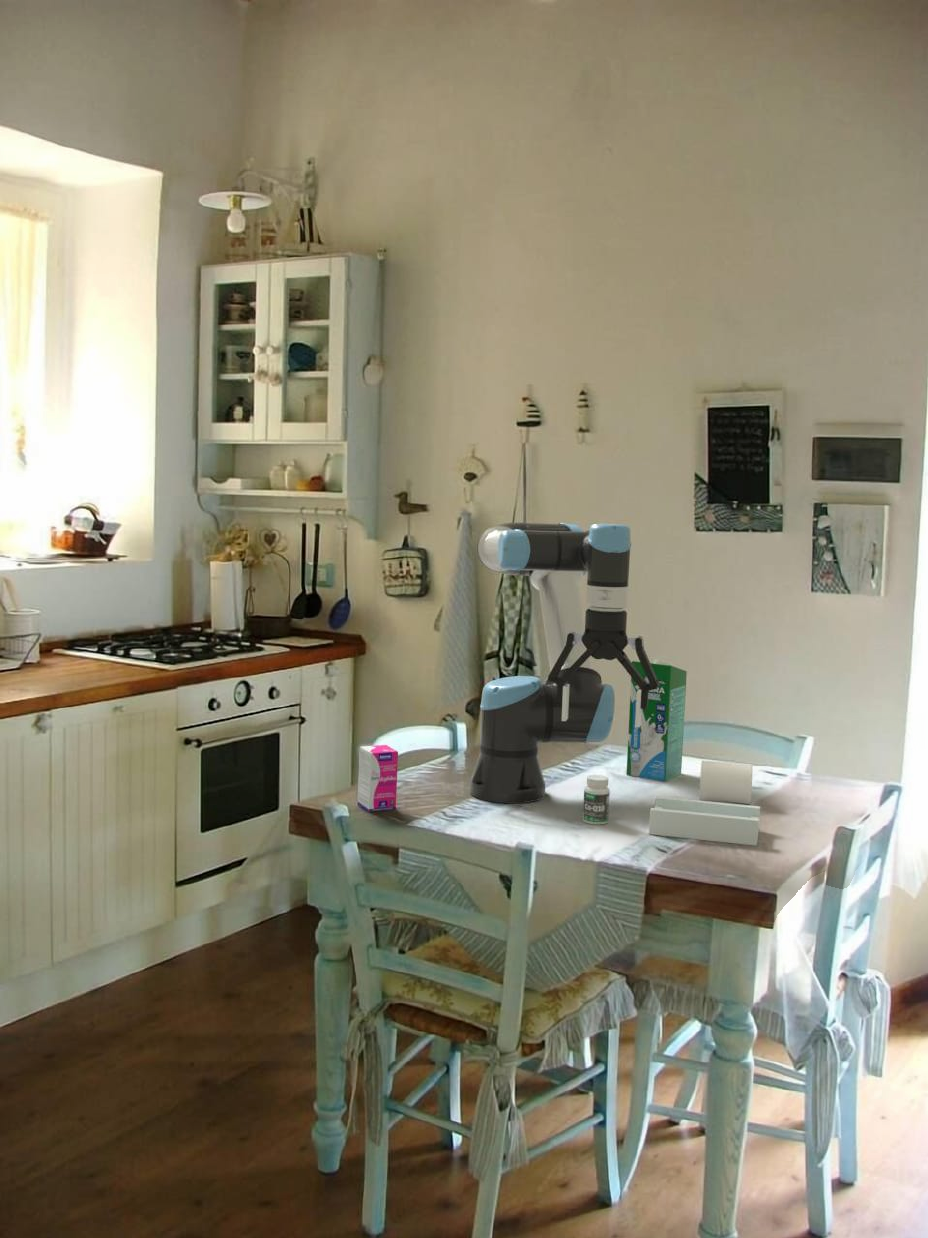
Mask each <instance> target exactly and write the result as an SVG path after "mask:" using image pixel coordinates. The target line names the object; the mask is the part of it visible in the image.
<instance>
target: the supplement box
mask: <svg viewBox="0 0 928 1238" xmlns="http://www.w3.org/2000/svg"><path fill="white" fill-rule="evenodd" d="M398 764H399V751H398V750H397V749H394V748H393V747H391V746H389V745H388V744H380V745H379V744H378V745H362V746H359V758H358V783H357V805H358V806H359V807H361V808H362V809H363V810H364V811H367V812H368V813H369V812H370V813H371V812H375V811H376V812H377V811H389V810H396V808H397V791H398V789H397V786H398V770H399V769H398V767H399V766H398Z"/></svg>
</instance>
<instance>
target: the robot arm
mask: <svg viewBox="0 0 928 1238" xmlns="http://www.w3.org/2000/svg"><path fill="white" fill-rule="evenodd" d="M631 547H632V541H631V529H630V527H629V525H626V524H617V523H594V524H591V525H590V527H589V530H583V529H582V528H581V527H580V526H579V525H576V524H571V523H569V524H568V523H565V522H558V523H540V522H539V523H538V522H537V523H534V522H507V523H501V524H497V525H494V526H491V527H489V528H487V529H486V530H484V531H483V532H482V533H481V535H480V536H479V537H478V540H477V542H476V555H477V558H478V560H479V562H480V563H481V564H482V565H483V566H484V567H485V568H486V569H488V570H490V571H493V572H495V573H499V574H502V575H508V576H525V577H529V578H530V579H529V580H530V584H531V585H532V587H534V588H535V589H536V590H537V591H538V592H539V593H538V594H539V599H540V600H539V601H540V607H541V615H542V621H543V629H544V636H545V641H546V643H545V644H546V649H547V657H548V663H549V674H548V677H547V678H546V679H545V681H544V684H542V681H541V679H540V677H537V676H533V675H526V676H525V675H515V676H506V677H502V678H497V679H496V678H495V679H494V680H491V681H489V682H487V683H486V684H485V685H484V686H483V689H482V691H481V692H482V693H481V703H480V709H481V711H480V713H481V715H480V739H479V757H478V759H477V761H476V764H475V767H474V770H473V773H472V775H471V778H470V780H469V781H470V783H469V794H470V795H472V796H473V797H475V798H478V799H480V800H483V801H484V800H485V801H488V802H494V803H506V804H508V803H509V804H517V803H519V804H520V803H523V804H524V803H530V802H536V801H539V800H541V799H543V798H544V797H545V796H546V781H545V777H544V775H543V770H542V768H541V763H540V759H539V743H542V744H543V743H553V744H555V743H561V744H562V743H563V744H564V743H565V744H566V743H567V744H568V743H571V744H572V743H573V744H574V743H579V744H580V743H584V744H588V743H600V742H604V741H605V740H606V739H607V738H608V736H609V734H610V733H611V729H612V725H613V720H614V715H615V714H614V713H615V701H616V700H615V691H614V690H615V689H614V687H613V686H612V685H610V684H608V683H603V681H602V676H601V673H600V672H599V671H598V670H597V669H596V668H593V665H592V661H591V657H592V658H593V659H594V660H607V661H613V660H615V659H616V660H617V661H618V662H619V663H620V664H621V666H622V667H623V669H625V671H626V673H628V674H629V677H630V678H631V677H632V679H633V680H634V681H635V683H636V684H637V685H638V686H639V688H640V689H641V690H638V691H637V699H636V719H635V727H640V725H641V713H642V709H646V708H647V706H648V693H649V691H650V690H653V689H657V687H658V686H659V682H658V680H657V677H656V675H655V673H654V670H653V668H652V666H651V664H650V663H651V661H650V659H649V657H648V654H647V652H646V651H645V647H644V644H645V643H644V638H643V636H641V635H639V636H637V637H628V636H627V621H628V620H627V619H628V612H627V611H626V610H625V609H627V607H628V604H629V603H628V602H629V601H628V599H629V579H630V578H629V577H630V562H631V559H630V558H631V557H630V556H631ZM586 574H587V579H586V581H587V582H586V596H585V597H586V598H585V599H586V600H585V605H586V606H587V607H588V608H587V609H586V610H585V616H584V613H583V605H582V599H581V595H580V594H581V593H580V588H579V585H580V583H581V582H582V580H583V578H584V576H586ZM584 617H585V619H584ZM628 645H630V646H631V649H632V650H635V652H636V655H637V658H638V661H639V662H641V665H642V667H643V669H644V672H645V674H646V676H647V678H648V681H649V683H647V682H646V681H645V680H644V678H643V677H642V676H641V674H640V673H639V672H638V670H637V669H636V668H635V666H634V665H633V664H632V660H630V659H629V657H628V655H627V654H626V653H625V651H624V649H625V648H626V647H627V646H628Z"/></svg>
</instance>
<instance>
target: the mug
mask: <svg viewBox="0 0 928 1238" xmlns="http://www.w3.org/2000/svg"><path fill="white" fill-rule="evenodd" d="M700 762H701V763H700V778H699V779H700V780H699V781H700V782H699V795H698V796H699V799H698V800H700V801H710V802H720V803H730V804H740V805H751V801H752V794H753V793H752V791H753V765H752V764H751V763H741V762H728V761H727V762H726V761H715V760H714V761H713V760H701V761H700Z"/></svg>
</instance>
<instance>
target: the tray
mask: <svg viewBox="0 0 928 1238" xmlns="http://www.w3.org/2000/svg"><path fill="white" fill-rule="evenodd" d="M760 815H761V805H760V806H759V805H751V804H737V803H725V802H713V801H701V800H699V799H698V800H697V799H689V798H688V799H687V798H678V797H668V796H659V795H658V796H657V795H656V797H655V804H654V807H650V810H649V826H648V835H655V836H663V837H673V838H681V839H682V838H683V839H691V840H702V841H711V842H719V843H720V842H721V843H730V844H737V845H748V846H755V847H756V846H758V845H757V844H758V838H759V832H760V818H761V817H760Z"/></svg>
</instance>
